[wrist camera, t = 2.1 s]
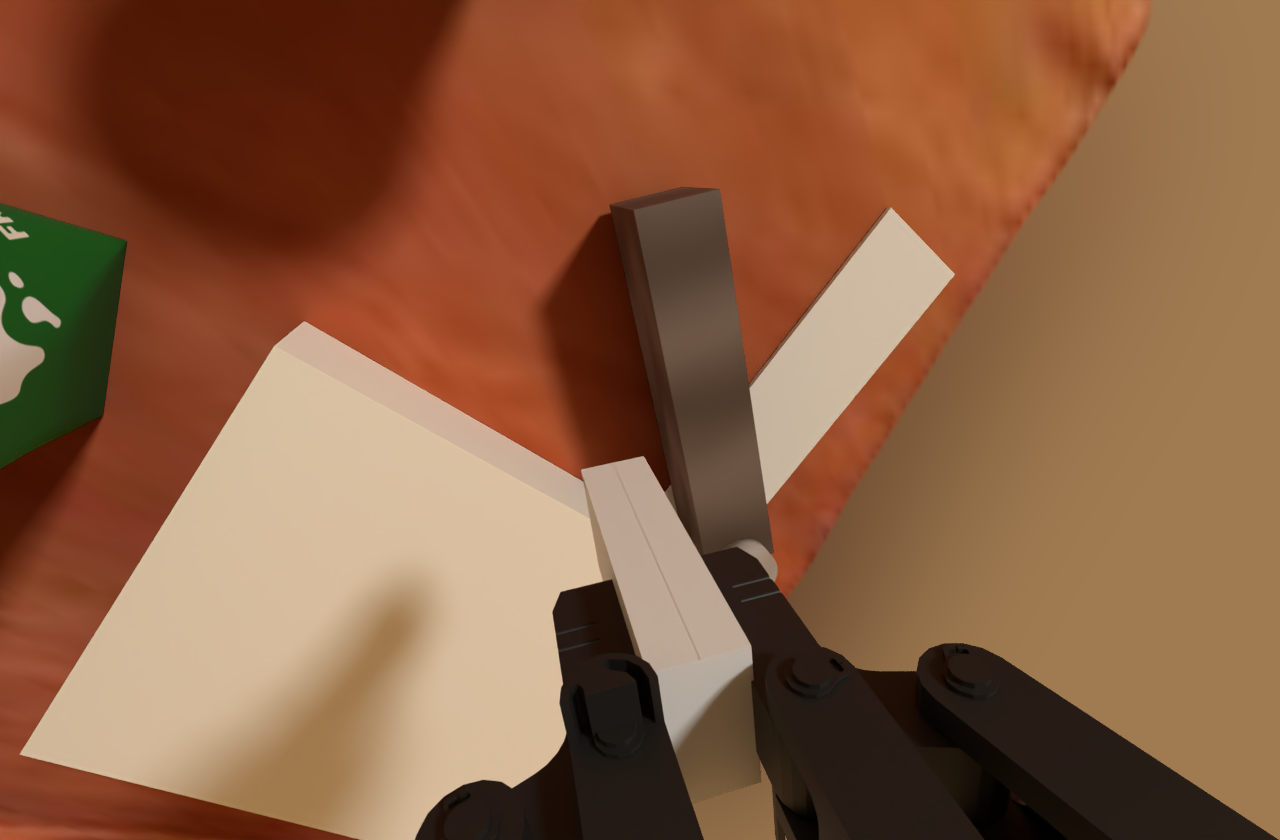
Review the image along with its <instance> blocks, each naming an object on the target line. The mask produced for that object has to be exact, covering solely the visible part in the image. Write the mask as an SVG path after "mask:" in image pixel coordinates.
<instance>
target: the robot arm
mask: <svg viewBox="0 0 1280 840" xmlns="http://www.w3.org/2000/svg"><path fill="white" fill-rule="evenodd" d="M581 472H582V477H583V483H584V488H585V494H586V499H587V505H588V510H589V516H590V521H591V527H592V532H593V538H594V543H595V548H596V554H597V559H598V565H599V569H600V573H601V576H602V580H603V582H599V583H595V584H591V585H586V586H582V587H578V588H574V589H570V590H566V591H562V592H560V594H559V597H558V599H557V602H556V604H555V606H554V609H553V611H552V614H553V621H554V627H555V634H556V641H557V648H558V654H559V661H560V668H561V674H562V681H563V685H562V687H561V692H560V701H559V704H560V708H561V713H562V717H563V721H564V725H565V730H566V736H565V740H564V742H563V744H562V745H561V747H560V749H559V751H558V752H557V754H556V755H555V756H554V757H553V758H552V759H551V761H550V762H549V763H548V764H547V765H546V766H544V767H543V768H542V769H541V770H539V771H538V772H537V773H535V774H534V775H532V776H531V777H529V778H528V779H526V780H524V781H523V782H521V783H520V784H518V785H516V786H515V787H513V788H511V787H509V786H508V785H506V784H505V783H503V782H500V781H491V780H480V781H476V782H472V783H468V784H464V785H462V786H460V787H459V788H457V789H456V790H454V791H452V792H451V793H449V794H447V795H446V796H444V797H443V798H442V799H441V800H440V801H439V802H438V803H437V804H436V805H435V806H434V807H433V808H432V809H431V811H430V812H429V813H428V814H427V816H426V818H425V819H424V821H423V823H422V825H421V827H420V829H419V831H418V833H417V835H416V838H415V840H704V839H703V836H702V833H701V830H700V827H699V824H698V821H697V818H696V815H695V812H694V809H693V806H692V803H696V802H699V801H702V800H705V799H708V798H712V797H715V796H718V795H721V794H724V793H728V792H731V791H734V790H737V789H740V788H744V787H747V786H750V785H753V784H756V783H760V782H761V771H760V761H761V763H762V765H763V767H764V769H765V771H766V773H767V775H768V778H769V779H770V782H771V784H772V792H773V806H774V823H775V836H776V840H785V836H786V838H787V840H1278V839H1277V838H1275V837H1274V836H1272V835H1270V834H1269V833H1267V832H1266V831H1264V830H1263V829H1261V828H1260V827H1258V826H1257V825H1255V824H1254V823H1252V822H1251V821H1249V820H1247V819H1246V818H1245V817H1243V816H1242V815H1240V814H1239V813H1237V812H1236V811H1234V810H1232V809H1231V808H1229V807H1228V806H1226V805H1225V804H1223V803H1222V802H1220V801H1219V800H1217V799H1216V798H1214V797H1213V796H1211V795H1210V794H1208V793H1207V792H1205V791H1204V790H1202V789H1200V788H1199V787H1198V786H1196V785H1194V784H1193V783H1191V782H1190V781H1188V780H1187V779H1185V778H1184V777H1182V776H1181V775H1179V774H1178V773H1176V772H1175V771H1173V770H1172V769H1170V768H1169V767H1167V766H1166V765H1164V764H1163V763H1161V762H1160V761H1158V760H1156V759H1155V758H1153V757H1152V756H1150V755H1149V754H1147V753H1146V752H1144V751H1143V750H1141V749H1140V748H1138V747H1137V746H1135V745H1134V744H1132V743H1131V742H1129V741H1128V740H1126V739H1125V738H1123V737H1121V736H1120V735H1118V734H1117V733H1115V732H1114V731H1112V730H1111V729H1109V728H1108V727H1106V726H1105V725H1103V724H1102V723H1100V722H1099V721H1097V720H1096V719H1094V718H1092V717H1091V716H1090V715H1088V714H1087V713H1085V712H1083V711H1082V710H1080V709H1079V708H1077V707H1076V706H1074V705H1073V704H1071V703H1070V702H1068V701H1067V700H1065V699H1063V698H1062V697H1061V696H1059V695H1058V694H1056V693H1054V692H1053V691H1052V690H1050V689H1048V688H1047V687H1045V686H1044V685H1042V684H1041V683H1039V682H1038V681H1036V680H1035V679H1033V678H1032V677H1030V676H1029V675H1027V674H1026V673H1024V672H1023V671H1021V670H1020V669H1018V668H1017V667H1015V666H1014V665H1012V664H1011V663H1009V662H1007V661H1006V660H1004V659H1003V658H1001V657H999V656H997V655H995V654H993V653H991V652H989V651H987V650H985V649H983V648H980V647H976V646H971V645H967V644H963V643H959V644H958V643H951V644H950V643H949V644H941V645H938V646H935V647H932V648H929V649H928V650H927V651H926V652H925V653H924V654H923V655H922V656H921V657H920V658H919V661H918V667H917V671H916V672H915V671H910V672H909V671H906V672H904V671H898V672H896V671H895V672H894V671H893V672H892V671H887V672H885V671H883V672H880V671H868V670H862V669H858V668H855V667H854V666H853V665H852V664H851V663H850V662H849V661H848V660H846V659H845V657H843V656H842V655H840V654H838V653H836V652H834V651H832V650H829V649H827V648H824V647H820V645H819V644H818V643H817V642H816V640H815V639H814V638H813V636H812V635H811V633H810V632H809V630H808V629H807V628H806V626H805V625H804V623H803V622H802V621H801V619H800V618H799V616H798V615H797V614H796V612H795V611H794V609H793V608H792V607H791V605H790V604H789V602H788V601H787V600H786V598H785V597H784V595H783V594H782V593H780V591H779V588H778V587H777V586H776V584H775V583H774V581H773V580H772V579H770V577H769V574H768V573H767V572H766V570H765V569H764V567H763V566H762V565H761V563H760V562H759V560H758V559H757V558H755V557H754V556H752V555H750V554H749V553H747V552H745V551H744V550H742V549H740V548H738V547H734V548H729V549H725V550H721V551H717V552H713V553H709V554H705V555H701V556H700V554H699V553H698V551H697V549H696V547H695V546H694V544H693V542H692V540H691V539H690V537H689V535H688V533H687V531H686V530H685V528H684V526H683V524H682V523H681V521H680V519H679V517H678V516H677V514H676V512H675V510H674V509H673V507H672V505H671V503H670V502H669V500H668V498H667V496H666V494H665V493H664V491H663V489H662V487H661V486H660V484H659V482H658V480H657V479H656V477H655V475H654V473H653V472H652V470H651V468H650V466H649V465H648V463H647V461H646V459H645V458H644V456H642V457H637V458H632V459H628V460H623V461H618V462H614V463H609V464H605V465H600V466H595V467H591V468H586V469H581Z"/></svg>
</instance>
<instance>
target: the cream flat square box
mask: <svg viewBox="0 0 1280 840" xmlns="http://www.w3.org/2000/svg"><path fill="white" fill-rule="evenodd" d="M599 582H603V580H602V576H601V573H600V569H599V565H598V559H597V554H596V548H595V543H594V538H593V532H592V527H591V521H590V516H589V510H588V505H587V499H586V494H585V488H584V483H583V481H581V480H579V479H578V478H576V477H574V476H572V475H571V474H569V473H567V472H566V471H564V470H562V469H560V468H559V467H557V466H555V465H553V464H552V463H550V462H548V461H546V460H545V459H543V458H541V457H539V456H538V455H536V454H534V453H533V452H531V451H529V450H527V449H526V448H524V447H522V446H520V445H519V444H517V443H515V442H513V441H512V440H510V439H508V438H506V437H505V436H503V435H501V434H500V433H498V432H496V431H494V430H493V429H491V428H489V427H487V426H486V425H484V424H482V423H480V422H479V421H477V420H475V419H473V418H472V417H470V416H468V415H466V414H465V413H463V412H461V411H460V410H458V409H456V408H454V407H453V406H451V405H449V404H447V403H446V402H444V401H442V400H440V399H439V398H437V397H435V396H433V395H432V394H430V393H428V392H427V391H425V390H423V389H421V388H420V387H418V386H416V385H414V384H413V383H411V382H409V381H407V380H406V379H404V378H402V377H400V376H399V375H397V374H395V373H394V372H392V371H390V370H388V369H387V368H385V367H383V366H381V365H380V364H378V363H376V362H374V361H373V360H371V359H369V358H367V357H366V356H364V355H362V354H361V353H359V352H357V351H355V350H354V349H352V348H350V347H348V346H347V345H345V344H343V343H341V342H340V341H338V340H336V339H334V338H333V337H331V336H329V335H327V334H326V333H324V332H322V331H321V330H319V329H317V328H315V327H314V326H312V325H310V324H308V323H307V322H305V321H304V322H303V323H302V324H300V325H299V326H298V327H297V328H295V329H294V330H293V331H292V332H291V333H289V334H288V335H287V336H286V337H285V338H283V339H282V340H281V341H280V342H278V343H277V344H276V345H275V346H274V347H273V349H272V351H271V352H270V354H269V355H268V357H267V359H266V360H265V362H264V363H263V365H262V367H261V368H260V370H259V371H258V373H257V375H256V376H255V378H254V379H253V381H252V383H251V384H250V386H249V387H248V389H247V391H246V392H245V394H244V395H243V397H242V399H241V400H240V402H239V404H238V405H237V407H236V408H235V410H234V412H233V413H232V415H231V416H230V418H229V420H228V421H227V423H226V424H225V426H224V428H223V429H222V431H221V432H220V434H219V436H218V437H217V439H216V440H215V442H214V444H213V445H212V447H211V448H210V450H209V452H208V453H207V455H206V456H205V458H204V460H203V461H202V463H201V464H200V466H199V468H198V469H197V471H196V472H195V474H194V476H193V477H192V479H191V481H190V482H189V484H188V485H187V487H186V489H185V490H184V492H183V493H182V495H181V497H180V498H179V500H178V501H177V503H176V505H175V506H174V508H173V509H172V511H171V513H170V514H169V516H168V517H167V519H166V521H165V522H164V524H163V525H162V527H161V529H160V530H159V532H158V533H157V535H156V537H155V538H154V540H153V541H152V543H151V545H150V546H149V548H148V549H147V551H146V553H145V554H144V556H143V557H142V559H141V561H140V562H139V564H138V566H137V567H136V569H135V570H134V572H133V574H132V575H131V577H130V578H129V580H128V582H127V583H126V585H125V586H124V588H123V590H122V591H121V593H120V594H119V596H118V598H117V599H116V601H115V602H114V604H113V606H112V607H111V609H110V610H109V612H108V614H107V615H106V617H105V618H104V620H103V622H102V623H101V625H100V626H99V628H98V630H97V631H96V633H95V634H94V636H93V638H92V639H91V641H90V642H89V644H88V646H87V647H86V649H85V651H84V652H83V654H82V655H81V657H80V659H79V660H78V662H77V663H76V665H75V667H74V668H73V670H72V671H71V673H70V675H69V676H68V678H67V679H66V681H65V683H64V684H63V686H62V687H61V689H60V691H59V692H58V694H57V695H56V697H55V699H54V700H53V702H52V703H51V705H50V707H49V708H48V710H47V711H46V713H45V715H44V716H43V718H42V719H41V721H40V723H39V724H38V726H37V727H36V729H35V731H34V732H33V734H32V736H31V737H30V739H29V740H28V742H27V744H26V745H25V747H24V748H23V750H22V752H21V753H20V755H24V756H28V757H32V758H36V759H40V760H44V761H48V762H52V763H56V764H60V765H64V766H68V767H72V768H76V769H80V770H84V771H88V772H92V773H96V774H100V775H104V776H108V777H112V778H116V779H120V780H124V781H128V782H132V783H136V784H140V785H144V786H148V787H152V788H156V789H160V790H164V791H168V792H172V793H176V794H180V795H184V796H188V797H192V798H196V799H200V800H204V801H208V802H212V803H216V804H220V805H224V806H228V807H232V808H236V809H240V810H244V811H248V812H252V813H256V814H260V815H264V816H268V817H272V818H276V819H280V820H284V821H288V822H292V823H296V824H300V825H304V826H308V827H312V828H316V829H320V830H324V831H328V832H332V833H336V834H340V835H344V836H348V837H352V838H356V839H360V840H415V838H416V835H417V833H418V831H419V829H420V827H421V825H422V823H423V821H424V819H425V818H426V816H427V814H428V813H429V812H430V811H431V809H432V808H433V807H434V806H435V805H436V804H437V803H438V802H439V801H440V800H441V799H442V798H443V797H444V796H446V795H447V794H449V793H451V792H452V791H454V790H456V789H457V788H459V787H460V786H462V785H464V784H468V783H472V782H476V781H480V780H491V781H500V782H503V783H505V784H506V785H508V786H509V787H511V788H513V787H515V786H516V785H518V784H520V783H521V782H523V781H524V780H526V779H528V778H529V777H531V776H532V775H534V774H535V773H537V772H538V771H539V770H541V769H542V768H543V767H544V766H546V765H547V764H548V763H549V762H550V761H551V759H552V758H553V757H554V756H555V755H556V754H557V752H558V751H559V749H560V747H561V745H562V744H563V742H564V740H565V736H566V730H565V725H564V721H563V717H562V713H561V708H560V704H559V701H560V692H561V687H562V685H563V681H562V674H561V668H560V661H559V654H558V648H557V641H556V634H555V627H554V621H553V614H552V611H553V609H554V606H555V604H556V602H557V599H558V597H559V594H560V592H562V591H566V590H570V589H574V588H578V587H582V586H586V585H591V584H595V583H599Z"/></svg>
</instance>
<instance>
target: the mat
mask: <svg viewBox="0 0 1280 840" xmlns="http://www.w3.org/2000/svg"><path fill="white" fill-rule="evenodd" d="M954 275H955V274H954V273H953V272H952V271H951V270H950V269H949V268H948V267H947V266H946V265H945V263H944V262H943V261H942V260H941V259H940V258H939V257H938V256H937V255H936V254H935V253H934V252H933V251H932V250H931V249H930V248H929V247H928V246H927V245H926V244H925V243H924V242H923V240H922V239H921V238H920V237H919V236H918V235H917V234H916V233H915V232H914V231H913V230H912V229H911V228H910V227H909V226H908V225H907V224H906V223H905V222H904V221H903V220H902V219H901V218H900V216H899V215H898V214H897V213H896V212H895V211H894V210H893V209H892V208H889V207H887V208H886V210H885V211H884V212H883V213H882V215H881V216H880V217H879V219H878V220H877V221H876V222H875V224H874V225H873V226H872V227H871V229H870V230H869V231H868V233H867V234H866V235H865V236H864V238H863V239H862V240H861V242H860V243H859V244H858V245H857V247H856V248H855V249H854V251H853V252H852V253H851V254H850V256H849V257H848V258H847V259H846V261H845V262H844V263H843V265H842V266H841V267H840V268H839V270H838V271H837V272H836V274H835V275H834V276H833V277H832V279H831V280H830V281H829V283H828V284H827V285H826V286H825V288H824V289H823V290H822V291H821V293H820V294H819V295H818V297H817V298H816V299H815V300H814V302H813V303H812V304H811V306H810V307H809V308H808V309H807V311H806V312H805V313H804V314H803V316H802V317H801V318H800V320H799V321H798V322H797V323H796V325H795V326H794V327H793V329H792V330H791V331H790V332H789V334H788V335H787V336H786V338H785V339H784V340H783V341H782V343H781V344H780V345H779V346H778V348H777V349H776V350H775V352H774V353H773V354H772V355H771V357H770V358H769V359H768V361H767V362H766V363H765V364H764V366H763V367H762V368H761V370H760V371H759V372H758V373H757V375H756V376H755V377H754V378H753V380H752V381H751V382H750V384H749V389H750V396H751V402H752V409H753V416H754V423H755V429H756V436H757V443H758V450H759V456H760V463H761V470H762V476H763V483H764V490H765V497H766V503H768V502H769V501H770V500H771V499H772V497H773V496H774V495H775V494H776V492H777V491H778V490H779V489H780V488H781V486H782V485H783V484H784V483H785V481H786V480H787V479H788V478H789V477H790V475H791V474H792V473H793V472H794V470H795V469H796V468H797V467H798V466H799V464H800V463H801V462H802V461H803V459H804V458H805V457H806V456H807V455H808V453H809V452H810V451H811V450H812V448H813V447H814V446H815V445H816V444H817V442H818V441H819V440H820V439H821V437H822V436H823V435H824V434H825V433H826V431H827V430H828V429H829V428H830V426H831V425H832V424H833V423H834V422H835V420H836V419H837V418H838V417H839V415H840V414H841V413H842V412H843V411H844V409H845V408H846V407H847V406H848V404H849V403H850V402H851V401H852V400H853V398H854V397H855V396H856V395H857V393H858V392H859V391H860V390H861V389H862V387H863V386H864V385H865V384H866V382H867V381H868V380H869V379H870V378H871V376H872V375H873V374H874V373H875V371H876V370H877V369H878V368H879V367H880V365H881V364H882V363H883V362H884V360H885V359H886V358H887V357H888V356H889V354H890V353H891V352H892V351H893V349H894V348H895V347H896V346H897V345H898V343H899V342H900V341H901V340H902V338H903V337H904V336H905V335H906V334H907V332H908V331H909V330H910V329H911V327H912V326H913V325H914V324H915V323H916V321H917V320H918V319H919V318H920V316H921V315H922V314H923V313H924V312H925V310H926V309H927V308H928V307H929V305H930V304H931V303H932V302H933V301H934V299H935V298H936V297H937V296H938V294H939V293H940V292H941V291H942V290H943V288H944V287H945V286H946V285H947V283H948V282H949V281H950V280H951V279H952V277H953V276H954ZM664 493H665V494H666V496H667V498H668V500H669V502H670V503H671V505H672V507H673V509H674V510H675V512H676V514H677V510H676V505H675V501H674V496H673V492H672V487H671V485H670V486H669V487H668V489H667V490H666V491H665V492H664ZM677 516H678V514H677Z"/></svg>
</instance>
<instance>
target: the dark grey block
mask: <svg viewBox="0 0 1280 840" xmlns="http://www.w3.org/2000/svg"><path fill="white" fill-rule="evenodd" d="M610 209H611V214H612V219H613V223H614V228H615V232H616V237H617V241H618V246H619V250H620V255H621V259H622V264H623V269H624V273H625V278H626V282H627V287H628V291H629V296H630V300H631V305H632V310H633V314H634V319H635V323H636V328H637V332H638V337H639V341H640V346H641V351H642V355H643V360H644V364H645V369H646V373H647V378H648V382H649V387H650V392H651V396H652V401H653V405H654V410H655V414H656V419H657V423H658V428H659V432H660V437H661V442H662V446H663V451H664V455H665V460H666V464H667V469H668V473H669V478H670V483H671V487H672V492H673V496H674V501H675V505H676V510H677V514H678V517H679V519H680V521H681V523H682V524H683V526H684V528H685V530H686V531H687V533H688V535H689V537H690V539H691V540H692V542H693V544H694V546H695V547H696V549H697V551H698V553H699V554H700V556H701V555H705V554H709V553H713V552H717V551H721V550H725V549H729V548H734V547H738V548H740V549H742V550H744V551H745V552H747V553H749V554H750V555H752V556H754V557H755V558H757V559H758V560H759V562H760V563H761V565H762V566H763V567H764V569H765V570H766V572H767V573H768V574H769V577H770V579H772V580H773V581H774V582H775V580H776V577H777V564H776V562H775V560H774V558H773V557H772V556H771V553H774V550H773V544H772V537H771V530H770V523H769V517H768V510H767V503H766V497H765V490H764V483H763V476H762V470H761V463H760V456H759V450H758V443H757V436H756V429H755V423H754V416H753V409H752V402H751V396H750V389H749V382H748V376H747V369H746V362H745V355H744V349H743V342H742V335H741V329H740V322H739V315H738V308H737V302H736V295H735V288H734V282H733V275H732V268H731V261H730V255H729V248H728V241H727V235H726V228H725V221H724V214H723V208H722V201H721V194H720V189H710V188H692V187H680V188H676V189H672V190H668V191H664V192H660V193H656V194H652V195H648V196H643V197H639V198H635V199H631V200H627V201H623V202H619V203H615V204H611V205H610Z"/></svg>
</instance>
